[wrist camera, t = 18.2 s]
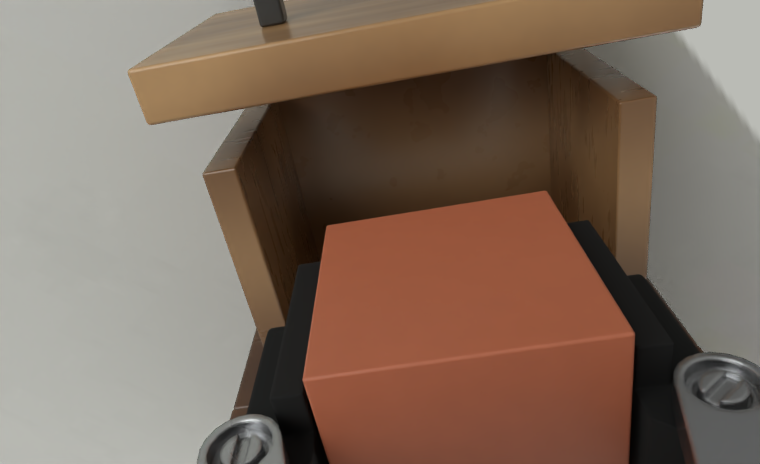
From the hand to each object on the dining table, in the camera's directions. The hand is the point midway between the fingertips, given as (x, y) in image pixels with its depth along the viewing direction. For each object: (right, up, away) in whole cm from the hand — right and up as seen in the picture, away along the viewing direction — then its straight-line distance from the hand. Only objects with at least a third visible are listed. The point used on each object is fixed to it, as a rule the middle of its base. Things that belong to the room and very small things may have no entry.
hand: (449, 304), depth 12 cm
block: (0, 0, 0) cm, 0 cm away
